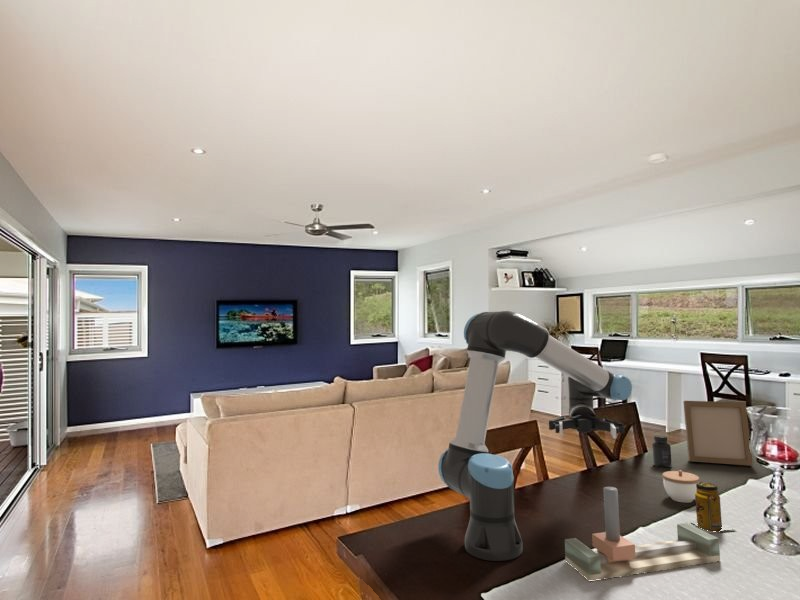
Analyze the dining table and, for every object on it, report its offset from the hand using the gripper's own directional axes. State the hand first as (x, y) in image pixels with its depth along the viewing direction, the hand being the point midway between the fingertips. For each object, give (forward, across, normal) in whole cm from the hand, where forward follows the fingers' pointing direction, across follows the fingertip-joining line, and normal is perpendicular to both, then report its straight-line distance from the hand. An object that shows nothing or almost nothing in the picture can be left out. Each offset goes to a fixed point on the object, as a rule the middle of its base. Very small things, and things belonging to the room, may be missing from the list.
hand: (587, 432), depth 133 cm
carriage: (+11, -4, -27) cm, 30 cm away
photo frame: (-95, -56, -29) cm, 114 cm away
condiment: (-20, -34, -29) cm, 49 cm away
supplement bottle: (-83, -33, -29) cm, 94 cm away
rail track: (+7, -11, -30) cm, 32 cm away
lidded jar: (-42, -31, -29) cm, 60 cm away
